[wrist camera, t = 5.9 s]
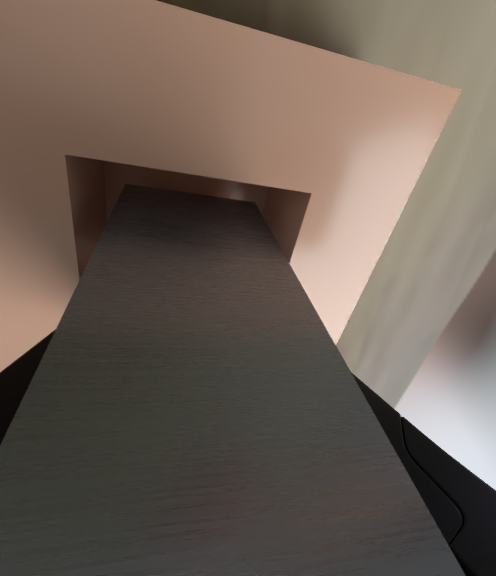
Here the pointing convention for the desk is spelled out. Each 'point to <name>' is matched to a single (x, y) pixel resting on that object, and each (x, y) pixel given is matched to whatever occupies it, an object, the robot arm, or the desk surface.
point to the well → (194, 144)
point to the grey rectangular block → (202, 419)
